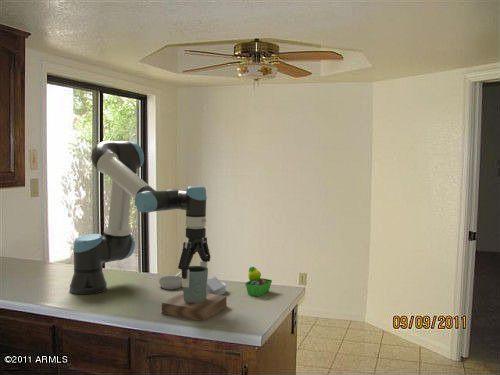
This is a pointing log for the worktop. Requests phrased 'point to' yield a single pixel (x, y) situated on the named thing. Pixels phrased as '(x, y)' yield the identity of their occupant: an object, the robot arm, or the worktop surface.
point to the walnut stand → (194, 306)
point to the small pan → (171, 281)
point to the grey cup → (196, 285)
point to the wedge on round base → (215, 286)
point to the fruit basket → (257, 283)
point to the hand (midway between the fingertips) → (194, 282)
